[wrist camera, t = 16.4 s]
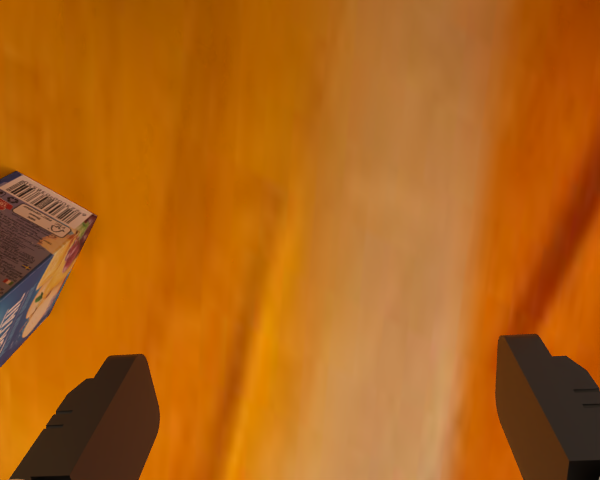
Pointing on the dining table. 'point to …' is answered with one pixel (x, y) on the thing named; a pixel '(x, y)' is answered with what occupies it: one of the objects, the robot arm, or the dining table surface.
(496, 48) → the dining table surface
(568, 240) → the dining table surface
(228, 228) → the dining table surface
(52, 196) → the blue tall cardboard box
